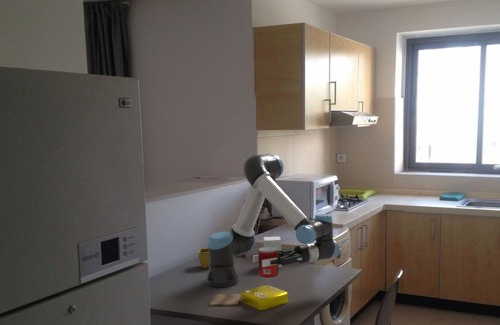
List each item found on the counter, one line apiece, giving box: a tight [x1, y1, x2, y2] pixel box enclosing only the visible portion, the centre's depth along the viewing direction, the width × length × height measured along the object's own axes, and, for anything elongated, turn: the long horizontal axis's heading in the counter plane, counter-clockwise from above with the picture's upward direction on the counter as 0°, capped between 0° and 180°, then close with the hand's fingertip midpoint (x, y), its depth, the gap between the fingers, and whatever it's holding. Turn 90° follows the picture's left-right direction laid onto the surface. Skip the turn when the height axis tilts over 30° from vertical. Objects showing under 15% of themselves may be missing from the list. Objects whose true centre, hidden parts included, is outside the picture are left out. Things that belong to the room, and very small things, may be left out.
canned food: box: [258, 246, 280, 279], centre depth 198 cm, size 8×8×11 cm
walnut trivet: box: [208, 293, 241, 307], centre depth 203 cm, size 12×12×1 cm
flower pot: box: [197, 247, 210, 269], centre depth 257 cm, size 9×9×9 cm
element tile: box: [240, 284, 289, 311], centre depth 200 cm, size 15×15×5 cm
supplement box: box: [263, 236, 283, 269], centre depth 253 cm, size 9×9×15 cm
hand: (257, 261), depth 196 cm, fingers closed on canned food, 8 cm apart
